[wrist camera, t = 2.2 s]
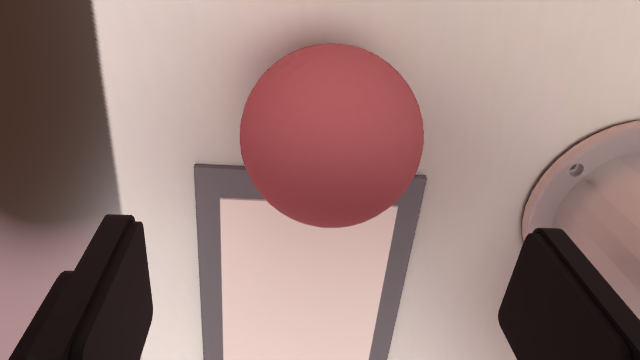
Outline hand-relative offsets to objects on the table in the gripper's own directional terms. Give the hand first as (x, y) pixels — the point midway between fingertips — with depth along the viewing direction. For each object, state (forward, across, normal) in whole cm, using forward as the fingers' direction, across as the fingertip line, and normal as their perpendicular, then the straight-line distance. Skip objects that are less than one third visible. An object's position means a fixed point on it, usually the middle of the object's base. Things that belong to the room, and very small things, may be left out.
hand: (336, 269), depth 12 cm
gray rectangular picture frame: (+16, -1, +16) cm, 23 cm away
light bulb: (+17, -1, 0) cm, 17 cm away
